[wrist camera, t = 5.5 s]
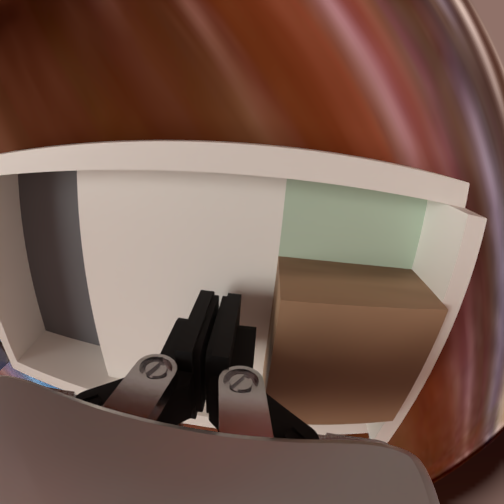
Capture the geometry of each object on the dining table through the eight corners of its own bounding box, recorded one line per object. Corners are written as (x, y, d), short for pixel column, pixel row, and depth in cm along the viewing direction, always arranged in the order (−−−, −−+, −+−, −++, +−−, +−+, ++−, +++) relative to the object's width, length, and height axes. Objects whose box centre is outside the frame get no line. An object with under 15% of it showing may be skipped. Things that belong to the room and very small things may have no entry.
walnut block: (278, 256, 12) (280, 299, 9) (411, 269, 12) (448, 309, 9) (263, 367, 14) (260, 422, 11) (375, 371, 14) (392, 421, 11)
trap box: (13, 151, 14) (-56, 166, 8) (420, 169, 13) (492, 190, 8) (43, 334, 19) (2, 380, 13) (361, 381, 18) (381, 451, 13)
